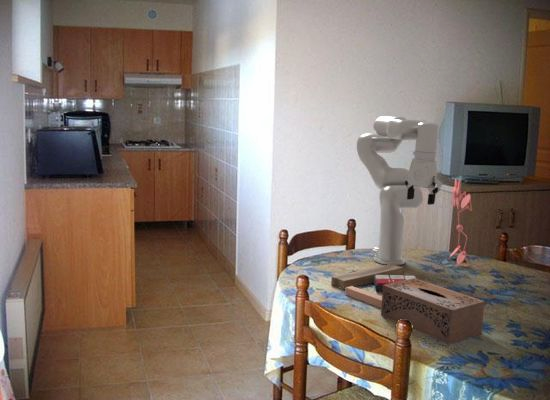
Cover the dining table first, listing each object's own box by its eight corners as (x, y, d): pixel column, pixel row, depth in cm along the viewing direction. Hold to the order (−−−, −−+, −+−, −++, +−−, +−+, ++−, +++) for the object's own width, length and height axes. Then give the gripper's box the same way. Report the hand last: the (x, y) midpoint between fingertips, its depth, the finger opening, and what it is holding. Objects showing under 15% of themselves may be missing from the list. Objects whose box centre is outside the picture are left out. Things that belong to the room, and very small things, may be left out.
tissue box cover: (380, 316, 186) (382, 285, 184) (412, 308, 194) (414, 278, 192) (449, 345, 165) (452, 310, 164) (481, 334, 174) (484, 301, 172)
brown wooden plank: (331, 284, 214) (331, 276, 214) (390, 271, 234) (391, 263, 234) (343, 289, 210) (343, 280, 209) (402, 275, 230) (403, 267, 229)
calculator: (373, 273, 218) (415, 274, 217) (373, 285, 219) (415, 285, 218) (376, 282, 208) (420, 283, 206) (376, 294, 208) (420, 295, 207)
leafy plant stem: (462, 254, 264) (467, 175, 258) (476, 271, 239) (482, 183, 233) (426, 253, 265) (430, 174, 259) (436, 270, 240) (442, 182, 234)
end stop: (345, 294, 204) (345, 287, 204) (351, 292, 206) (352, 285, 206) (381, 308, 192) (381, 300, 192) (387, 306, 194) (388, 298, 193)
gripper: (400, 153, 226) (396, 198, 230) (437, 160, 213) (432, 207, 216) (413, 152, 231) (408, 196, 234) (450, 159, 217) (445, 205, 221)
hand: (420, 201), depth 225 cm, fingers open, 9 cm apart
